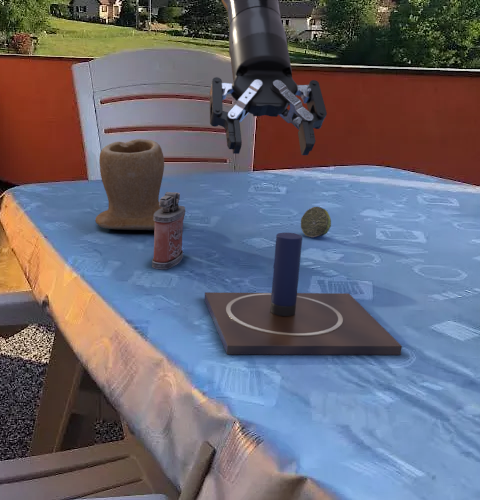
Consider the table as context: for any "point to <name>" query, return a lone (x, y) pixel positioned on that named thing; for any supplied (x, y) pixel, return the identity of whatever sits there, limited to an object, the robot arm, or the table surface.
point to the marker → (286, 274)
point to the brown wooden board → (298, 326)
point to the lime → (315, 222)
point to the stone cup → (131, 184)
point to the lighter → (168, 232)
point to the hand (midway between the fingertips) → (272, 150)
